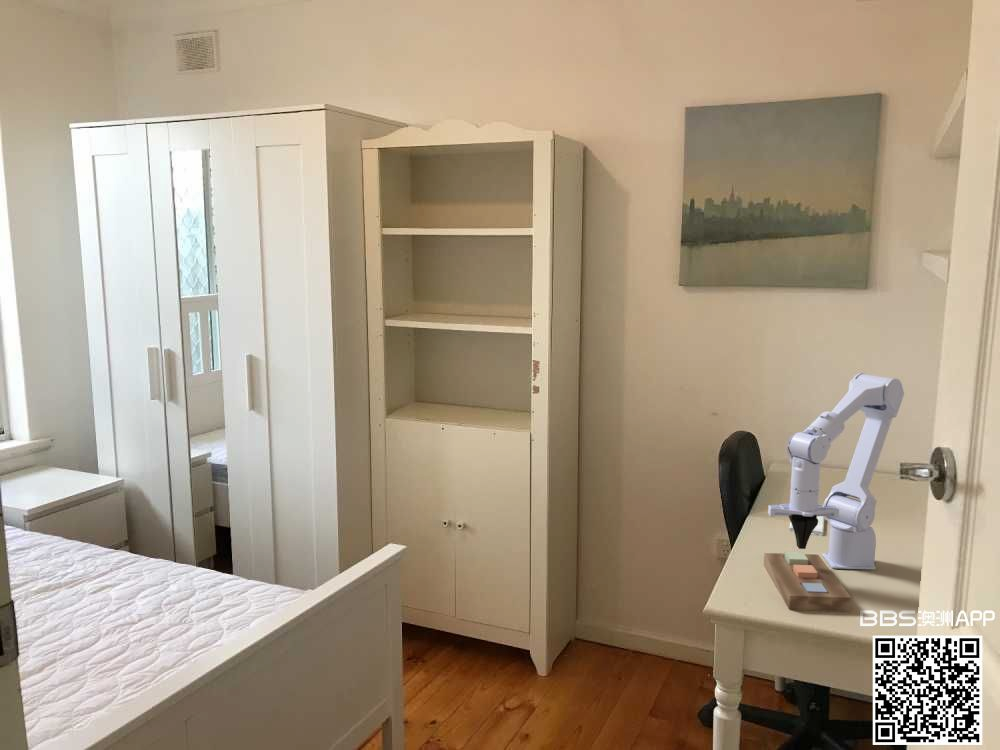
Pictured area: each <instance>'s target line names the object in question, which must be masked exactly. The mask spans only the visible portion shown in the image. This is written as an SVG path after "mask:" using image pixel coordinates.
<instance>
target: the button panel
mask: <svg viewBox="0 0 1000 750" xmlns="http://www.w3.org/2000/svg"><path fill="white" fill-rule="evenodd" d="M804 555H805V556H806V557H807V559H808V565H812V566H813V567H814V568H815V570H816V571H817V573H818V575H817V579H810V578H797V577H796V576H795V574H794V573H793V565H788V564H787V562H786V561H785V559H784V558H785V553H781V552H779V553H777V552H776V553H773V552H764V555H763V567H764V566H765V567H764V568H766V569H765V570H766V572H767V574H768V576H769V577H770V578H771V581H772V582H773V585H774V586H775V588H776V590H777V591H778V593H779V595H780V597H781V598H782V600H783V601H784V603H785V605H786V606H787V609H788V610H793V611H794V610H795V611H797V610H799V611H818V612H819V611H821V612H822V611H825V612H846V613H847V612H851V603H852V596H850V594H849V593H848V592H847V590H846V589H845V588H844V587H843V585H842V584H841V582H840V581H839V580H838V579H837V577H836V576H835V575H834V573H833V572H832V571H831V570H830V568H829V566H827V564H826V562H825V561H824V560H823V559H822V558H821V556H820V555H819V554H810V553H809V554H807V553H804ZM802 583H822V585H823V586H824V587H825V589H826V590H827V592H828V593H806V591H805V590H804V588H803V587H802Z"/></svg>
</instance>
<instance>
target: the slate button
mask: <svg viewBox="0 0 1000 750" xmlns="http://www.w3.org/2000/svg"><path fill="white" fill-rule="evenodd" d="M802 587H803V588H804V590H805V591H806V593H828V592H827V590H826V589H825V587H824V586H823V585H822V583H802Z"/></svg>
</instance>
